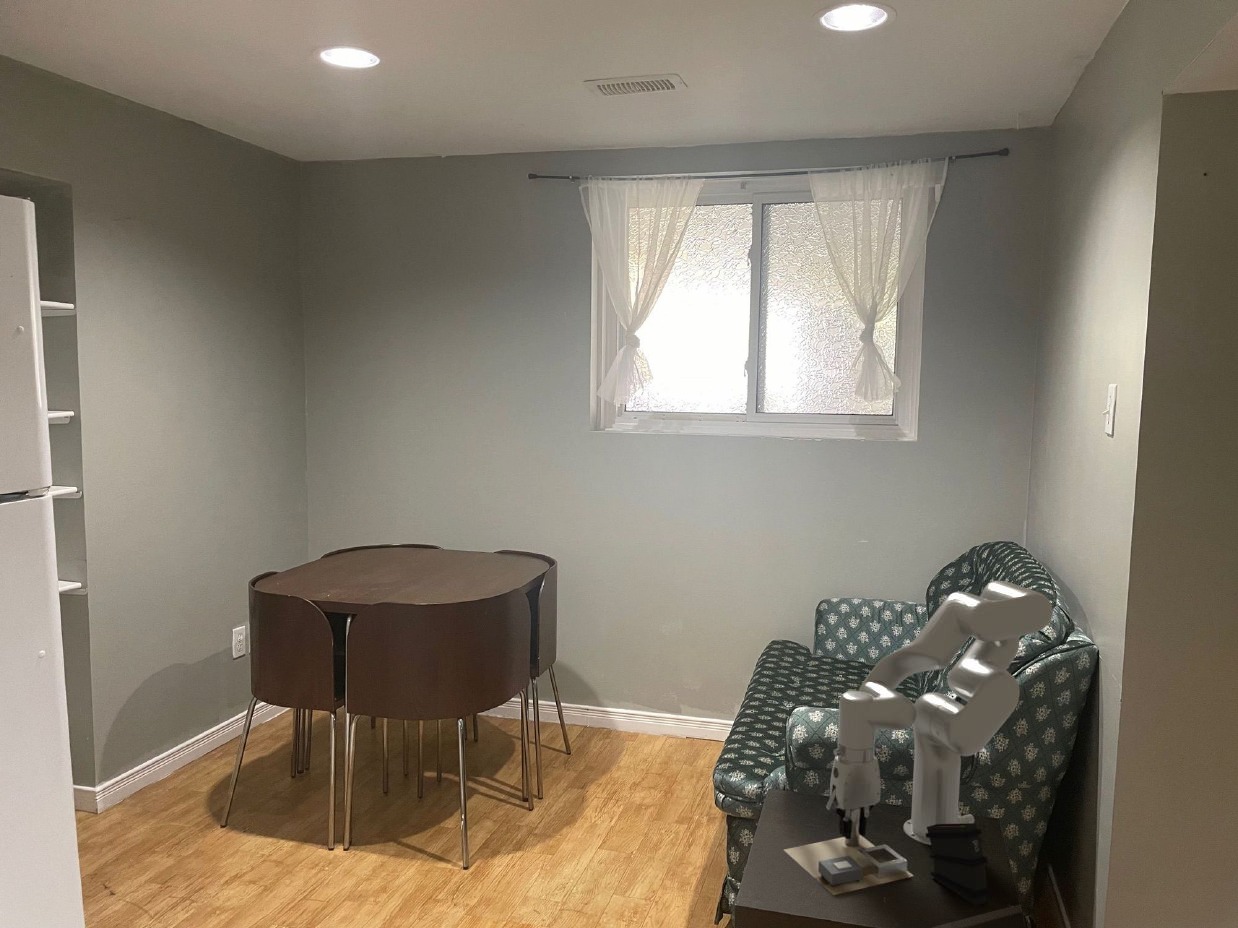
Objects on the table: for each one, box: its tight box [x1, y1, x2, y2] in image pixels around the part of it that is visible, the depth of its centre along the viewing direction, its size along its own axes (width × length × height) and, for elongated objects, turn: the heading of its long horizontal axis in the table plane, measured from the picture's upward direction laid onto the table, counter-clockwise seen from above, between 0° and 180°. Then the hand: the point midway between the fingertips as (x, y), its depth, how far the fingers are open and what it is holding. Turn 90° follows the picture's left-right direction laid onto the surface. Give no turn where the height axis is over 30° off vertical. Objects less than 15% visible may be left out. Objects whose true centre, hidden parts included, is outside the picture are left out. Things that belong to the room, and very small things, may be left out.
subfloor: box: [783, 835, 914, 896], centre depth 193 cm, size 19×18×1 cm
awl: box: [845, 807, 861, 847], centre depth 200 cm, size 4×4×13 cm
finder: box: [818, 856, 863, 887], centre depth 187 cm, size 7×5×3 cm
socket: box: [857, 844, 908, 879], centre depth 191 cm, size 7×7×2 cm
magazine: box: [926, 822, 991, 906], centre depth 184 cm, size 4×13×15 cm, turn 27°
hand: (852, 833), depth 200 cm, fingers closed on awl, 3 cm apart
